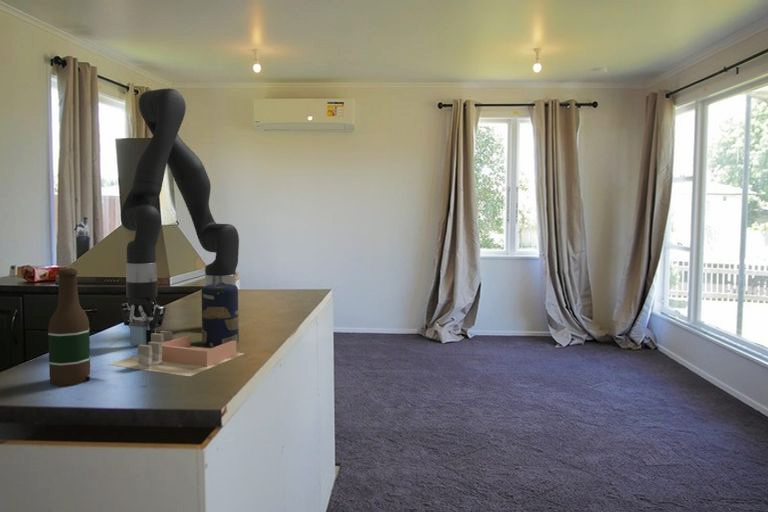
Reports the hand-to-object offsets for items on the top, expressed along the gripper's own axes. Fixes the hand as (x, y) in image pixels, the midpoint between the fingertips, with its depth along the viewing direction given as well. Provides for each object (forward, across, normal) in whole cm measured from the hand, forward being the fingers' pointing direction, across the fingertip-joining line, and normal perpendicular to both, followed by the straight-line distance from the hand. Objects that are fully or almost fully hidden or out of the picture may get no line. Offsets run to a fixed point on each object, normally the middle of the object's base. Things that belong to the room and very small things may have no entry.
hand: (142, 342), depth 138 cm
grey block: (+1, 0, 0) cm, 1 cm away
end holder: (0, -23, +6) cm, 24 cm away
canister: (+2, -19, -8) cm, 21 cm away
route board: (+1, -20, +9) cm, 22 cm away
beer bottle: (+2, -8, +28) cm, 29 cm away
